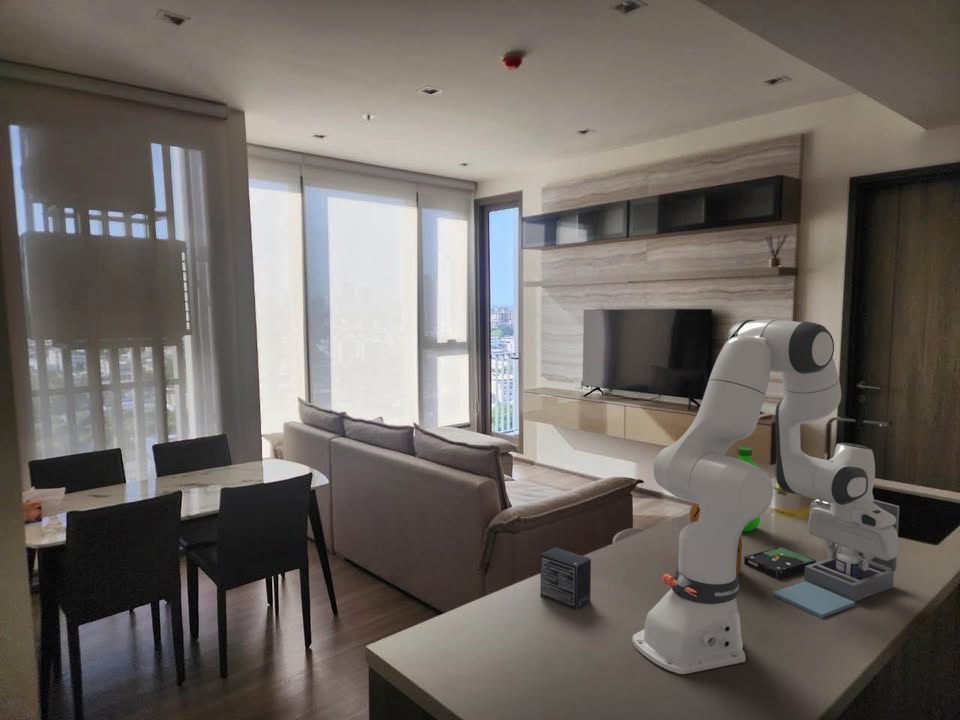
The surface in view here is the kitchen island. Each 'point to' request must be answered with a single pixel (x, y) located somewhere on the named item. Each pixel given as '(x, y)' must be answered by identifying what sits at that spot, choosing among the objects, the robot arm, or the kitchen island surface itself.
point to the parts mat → (814, 599)
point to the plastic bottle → (745, 455)
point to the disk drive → (778, 562)
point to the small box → (565, 577)
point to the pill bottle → (848, 562)
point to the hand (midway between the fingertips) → (848, 564)
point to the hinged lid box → (872, 579)
